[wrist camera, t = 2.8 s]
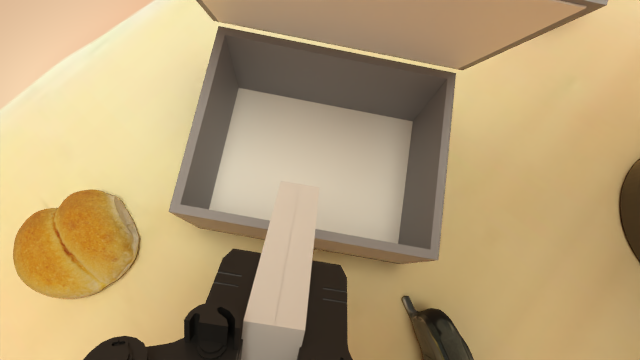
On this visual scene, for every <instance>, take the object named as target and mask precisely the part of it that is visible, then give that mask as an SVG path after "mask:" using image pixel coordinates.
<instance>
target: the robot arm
mask: <svg viewBox="0 0 640 360" xmlns="http://www.w3.org/2000/svg"><path fill="white" fill-rule="evenodd" d="M319 188H320V187H315V186H309V185H303V184H297V183H291V182H286V181H281V183H280V186H279V190H278V194H277V197H276V201H275V205H274V209H273V212H272V216H271V220H270V223H269V227H268V231H267V235H266V238H265V242H264V246H263V249H262V253H257V252H251V251H245V250H239V249H232V250H231V251H230V252H229V253H228V254H227V255H226V256H225V257H224V258H223V259H222V262H221V264H220V267H219V270H218V273H217V275H216V277H215V280H214V283H213V285H212V288H211V290H210V293H209V295H208V298H207V300H206V303H205V304H202V305H199V306H197V307H196V308H194V309H193V310H192V311H190V312H189V314H188V315H187V317H186V318H185V320H184V338H182V339H180V340H178V341H176V342H173V343H169V344H164V345H157V346H149V347H145V345H144V343H143V342H141V341H140V340H138V339H137V338H134V337H129V336H121V337H114V338H111V339H109V340H107V341H104V342H102V343H101V344H99V345H98V346H97V347H96V348H94V349H93V350H92V351H91V352H90V353H89V354H88V355H87V356H86V357H85V358H84V359H83V360H353V359H352V358H351V356H350V353H349V351H348V344H347V277H346V275H345V273H344V271H343V269H342V267H341V265H336V264H330V263H324V262H318V261H312V257H313V247H314V238H315V228H316V218H317V208H318V198H319ZM621 217H622V223H623V227H624V230H625V233H626V236H627V239H628V241H629V243H630V245H631V247H632V249H633V251H634V253H635V254H636V256H637V258H638V259H639V260H640V159H639V160H638V161H637V162H636V163H635V165H634V166H633V167H632V168H631V170H630V171H629V173H628V175H627V177H626V179H625V182H624V185H623V188H622V193H621Z"/></svg>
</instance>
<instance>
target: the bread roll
mask: <svg viewBox="0 0 640 360" xmlns="http://www.w3.org/2000/svg"><path fill="white" fill-rule="evenodd" d="M138 243H139V236H138V233H137V230H136V227H135V224H134V222H133V220H132V218H131V217H130V214H129V213H128V211H127V210H126V207H125V206H124V204H123V202H122V201H121V200H120V199H118V197H117V196H113V195H109V194H107V193H105V192H102V191H99V190H84V191H79V192H76V193H73V194H71V195H70V196H68V197H67V198H66V199H65V200H64V201H63V202H62V204H61V205H60V207H59V208H50V209H44V210H41V211H38V212H36V213H34V214H33V215H32V216H30V217H29V218H28V219H27V220H26V221H25V222H24V224H23V225H22V226H21V228H20V229H19V231H18V233H17V235H16V238H15V243H14V250H13V259H14V265H15V268H16V271H17V274H18V275H19V277H20V278H21V280H22V281H23V282H24V283H25V284H26V285H27V286H29V287H30V288H31V289H33V290H35V291H36V292H39V293H41V294H44V295H46V296H50V297H55V298H62V299H74V298H81V297H86V296H89V295H93V294H95V293H97V292H99V291H101V290H102V289H103V288H105V287H106V286H107V285H109V284H111V283H113V282H115V281H116V280H118V279H119V278H120V277H121V276H122V275H123V274H124V273H125V272H126V271H127V270H128V269H129V267H130V266H131V264H132V263H133V261H134V260H135V258H136V255H137V251H138Z"/></svg>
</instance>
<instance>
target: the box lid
mask: <svg viewBox="0 0 640 360" xmlns="http://www.w3.org/2000/svg"><path fill="white" fill-rule="evenodd" d="M196 1H197V2H198V3H199V4H200V5H201V7H202V8H203V9H204V10H205V11H206V12H207V14H208V15H209V16H210V17H211V18H212V20H213V21H217V22H222V23H228V24H233V25H238V26H243V27H248V28H253V29H258V30H263V31H268V32H273V33H278V34H283V35H288V36H293V37H298V38H303V39H308V40H313V41H318V42H323V43H328V44H333V45H338V46H343V47H348V48H353V49H358V50H363V51H368V52H373V53H378V54H383V55H388V56H393V57H398V58H403V59H408V60H414V61H419V62H424V63H429V64H434V65H439V66H444V67H449V68H454V69H459V70H464V69H466V68H469V67H471V66H473V65H475V64H477V63H480V62H482V61H484V60H486V59H489V58H491V57H493V56H495V55H497V54H500V53H502V52H504V51H506V50H508V49H511V48H513V47H515V46H517V45H519V44H522V43H524V42H526V41H528V40H531V39H533V38H535V37H537V36H539V35H542V34H544V33H546V32H548V31H550V30H553V29H555V28H557V27H559V26H561V25H564V24H566V23H568V22H570V21H573V20H575V19H577V18H579V17H581V16H584V15H586V14H588V13H590V12H592V11H595V10H597V9H599V8H601V7H603V6H606V5H607V2H608V0H196Z"/></svg>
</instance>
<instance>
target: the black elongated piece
mask: <svg viewBox="0 0 640 360" xmlns="http://www.w3.org/2000/svg"><path fill="white" fill-rule="evenodd" d="M402 301H403V303H404V305H405V308H406V310H407V312H408V314H409V316H410V318H411V321H412V323H413V326H414V329H415V333H416V336H417V338H418V341H419V343H420V346H421V349H422V353H423V360H474V359H473V357H472V354H471V352H470V350H469V348H468V346H467V344H466V343H465V341H464V340H463V338H462V337H461V335H460V334H459V332H458V331H457V329H456V327H455V326H454V324H453V322H452V321H451V319H450V318H449V317H448V316H447V315H446V314H445V313H444V312H442V311H441V310H439V309H433V308H430V309H427V310H424V311H421V312H418V311H416V310H415V308H414V307H413V304H412V302H411V300H410V298H409V296H404V297H403V298H402Z"/></svg>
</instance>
